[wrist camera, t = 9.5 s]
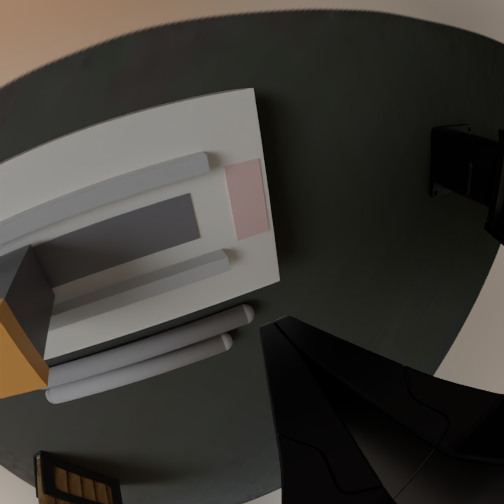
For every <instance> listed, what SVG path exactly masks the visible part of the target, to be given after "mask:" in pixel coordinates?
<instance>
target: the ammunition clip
mask: <svg viewBox="0 0 504 504" xmlns="http://www.w3.org/2000/svg"><path fill="white" fill-rule="evenodd" d="M33 458H34V475H35V487H36V497H37V498H38V499H39V504H123V502H122V497H121V491H120V485H119V481H118V480H116V479H113V478H110V477H107V476H104V475H101V474H98V473H95V472H92V471H89V470H87V469H84V468H81V467H79V466H76V465H74V464H71V463H69V462H66V461H64V460H62V459H59V458H57V457H55V456H52V455H50V454H48V453H46V452H43V451H40V452H38V453H37V454H35V455H34V456H33Z"/></svg>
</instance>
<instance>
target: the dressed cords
mask: <svg viewBox="0 0 504 504" xmlns="http://www.w3.org/2000/svg"><path fill="white" fill-rule="evenodd" d="M253 318H254V310H253V308H252V307H251V306H249V305H247V304H242V305H239V306H236V307H234V308H231V309H228V310H225V311H223V312H220V313H217V314H214V315H211V316H209V317H206V318H203V319H200V320H197V321H194V322H192V323H189V324H186V325H183V326H180V327H177V328H174V329H171V330H168V331H165V332H162V333H159V334H156V335H153V336H150V337H147V338H144V339H141V340H138V341H135V342H132V343H129V344H126V345H123V346H120V347H117V348H114V349H110V350H107V351H104V352H101V353H98V354H94V355H91V356H88V357H85V358H81V359H78V360H75V361H71V362H68V363H65V364H61V365H58V366H54V367H51V368H49V376H48V387H45V388H41V389H47V390H46V398H47V399H48V401H49V402H51V403H53V404H58V403H62V402H66V401H70V400H73V399H77V398H81V397H85V396H88V395H92V394H96V393H99V392H103V391H106V390H110V389H113V388H117V387H120V386H123V385H127V384H130V383H133V382H136V381H140V380H143V379H146V378H149V377H152V376H155V375H158V374H162V373H165V372H168V371H171V370H174V369H177V368H179V367H182V366H185V365H188V364H191V363H194V362H197V361H200V360H202V359H205V358H208V357H211V356H213V355H216V354H219V353H222V352H224V351H227V350H229V349H230V348H231V346H232V338H231V336H230V335H229V334H227V333H224V332H227V331H229V330H232V329H235V328H237V327H240V326H243V325H245V324H248V323H250V322H251V321H252V320H253Z"/></svg>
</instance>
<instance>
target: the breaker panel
mask: <svg viewBox="0 0 504 504" xmlns="http://www.w3.org/2000/svg"><path fill="white" fill-rule="evenodd" d="M29 244H31V246H32V249H33V251H34V253H35V255H36V257H37V260H38V262H39V264H40V266H41V268H42V270H43V272H44V274H45V276H46V278H47V280H48V282H49V284H50V286H51V288H52V290H53V292H54V294H55V299H54V304H53V309H52V314H51V319H50V324H49V329H48V335H47V341H46V347H45V353H44V360H47V359H50V358H53V357H57V356H60V355H63V354H67V353H70V352H73V351H76V350H80V349H83V348H86V347H89V346H92V345H96V344H99V343H102V342H105V341H108V340H111V339H114V338H117V337H121V336H124V335H127V334H130V333H133V332H136V331H139V330H142V329H145V328H148V327H151V326H154V325H157V324H160V323H163V322H166V321H169V320H172V319H175V318H177V317H180V316H183V315H186V314H189V313H192V312H195V311H198V310H201V309H203V308H206V307H209V306H212V305H215V304H218V303H220V302H223V301H226V300H229V299H232V298H234V297H237V296H240V295H243V294H245V293H248V292H251V291H254V290H256V289H259V288H262V287H264V286H267V285H270V284H273V283H275V282H278V281H280V278H279V270H278V262H277V254H276V246H275V238H274V230H273V222H272V215H271V207H270V200H269V192H268V185H267V178H266V170H265V163H264V156H263V149H262V142H261V135H260V128H259V122H258V115H257V108H256V102H255V95H254V89H253V88H247V89H234V90H227V91H222V92H216V93H211V94H206V95H201V96H196V97H191V98H187V99H182V100H178V101H174V102H170V103H166V104H162V105H158V106H154V107H150V108H146V109H142V110H139V111H135V112H132V113H128V114H125V115H122V116H118V117H115V118H112V119H109V120H106V121H103V122H99V123H96V124H94V125H91V126H88V127H85V128H82V129H79V130H76V131H74V132H71V133H68V134H66V135H63V136H60V137H58V138H55V139H53V140H50V141H48V142H45V143H43V144H40V145H38V146H36V147H33V148H31V149H29V150H26V151H24V152H22V153H20V154H18V155H15V156H13V157H11V158H9V159H7V160H5V161H3V162H1V163H0V256H3V255H5V254H7V253H10V252H12V251H14V250H17V249H19V248H22V247H24V246H27V245H29Z"/></svg>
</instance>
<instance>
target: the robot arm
mask: <svg viewBox="0 0 504 504" xmlns="http://www.w3.org/2000/svg"><path fill="white" fill-rule="evenodd" d="M498 136H499V142H496V141H493V140H489V139H486V138H483V137H479V136H476V135H472V128H471V125H468V124H461V125H450V126H440V127H434V128H433V129H432V143H431V174H430V191H429V195H430V197H432V198H438V197H440V196H443V195H446V194H449V193H451V192H455V193H458V194H460V195H462V196H465V197H467V198H469V199H471V200H474V201H476V202H478V203H480V204H482V205H484V206H487V207H489V212H488V217H487V222H486V223H485V227H484V229H485V230H486V231H487V232H488V233H490V234H491V235H492V236H493V237H494V238H495V239H496V240H498V241H499V242H500V243H501V244H502V245H504V130H502V129H499V133H498ZM258 332H259V338H260V344H261V350H262V356H263V362H264V368H265V374H266V380H267V386H268V392H269V398H270V404H271V410H272V416H273V422H274V428H275V433H276V440H277V446H278V453H279V461H280V469H281V489H282V504H504V394H498V393H493V392H489V391H485V390H481V389H477V388H473V387H469V386H464V385H460V384H456V383H453V382H450V381H447V380H443V379H440V378H437V377H434V376H431V375H428V374H426V373H423V372H420V371H417V370H415V369H412V368H410V367H408V366H404V367H403V365H402V364H400V363H397V362H395V361H393V360H390V359H388V358H385V357H383V356H381V355H378V354H376V353H373V352H371V351H369V350H366V349H364V348H362V347H359V346H357V345H355V344H352V343H350V342H348V341H345V340H343V339H341V338H338V337H336V336H334V335H332V334H329V333H327V332H325V331H322V330H320V329H318V328H316V327H313V326H311V325H309V324H307V323H304V322H302V321H300V320H298V319H296V318H293V317H291V316H284V317H281V318H279V319H276V320H275V321H274V322H269V323H266V324H264V325H261V326H259V327H258Z"/></svg>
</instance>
